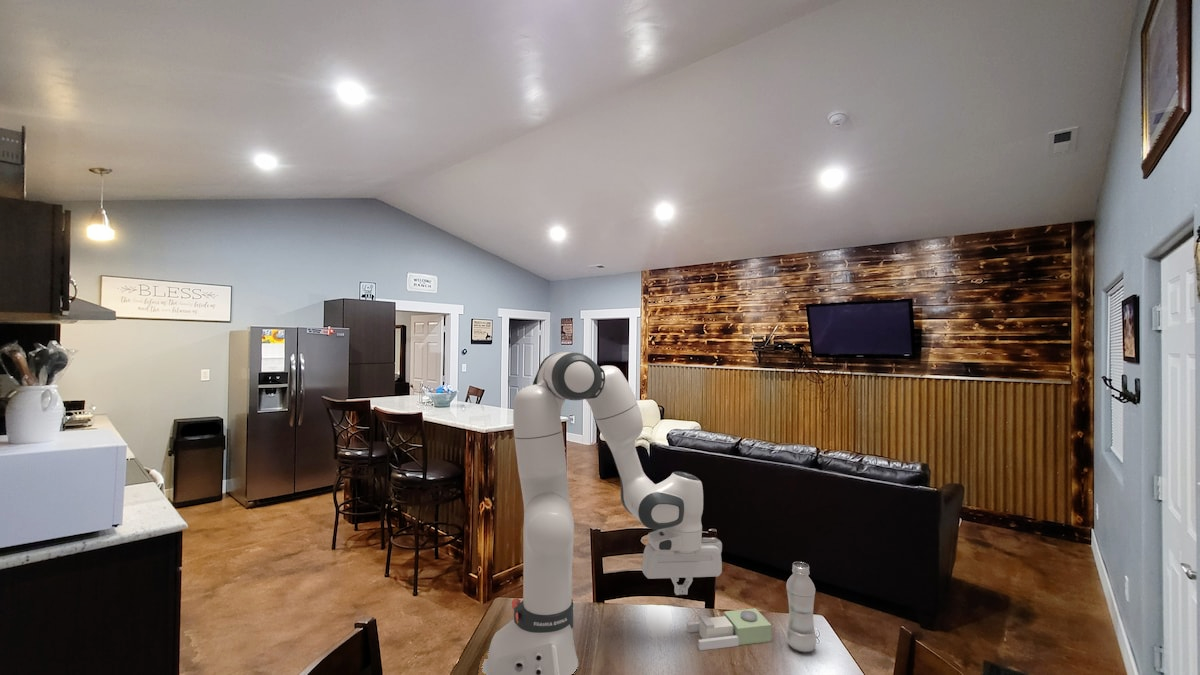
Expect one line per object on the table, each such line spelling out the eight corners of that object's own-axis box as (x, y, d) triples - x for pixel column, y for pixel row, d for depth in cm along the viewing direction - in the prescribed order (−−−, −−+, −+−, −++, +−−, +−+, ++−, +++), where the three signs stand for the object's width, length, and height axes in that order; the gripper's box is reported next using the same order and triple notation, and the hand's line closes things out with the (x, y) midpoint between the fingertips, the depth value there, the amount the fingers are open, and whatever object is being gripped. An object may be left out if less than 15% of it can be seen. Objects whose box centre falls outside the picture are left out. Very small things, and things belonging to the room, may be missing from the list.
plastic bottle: (819, 658, 116) (818, 572, 117) (788, 654, 117) (788, 569, 118) (813, 642, 122) (812, 560, 123) (784, 638, 124) (784, 558, 124)
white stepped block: (706, 645, 121) (706, 625, 121) (699, 634, 126) (699, 615, 126) (733, 642, 123) (733, 622, 123) (725, 631, 127) (725, 612, 127)
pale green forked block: (699, 650, 119) (699, 630, 119) (686, 630, 127) (686, 611, 127) (772, 641, 123) (772, 622, 123) (754, 623, 131) (754, 604, 131)
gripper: (717, 532, 130) (714, 586, 129) (641, 533, 126) (638, 589, 125) (727, 542, 123) (725, 598, 123) (648, 543, 120) (645, 601, 119)
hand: (680, 593), depth 124 cm, fingers closed
